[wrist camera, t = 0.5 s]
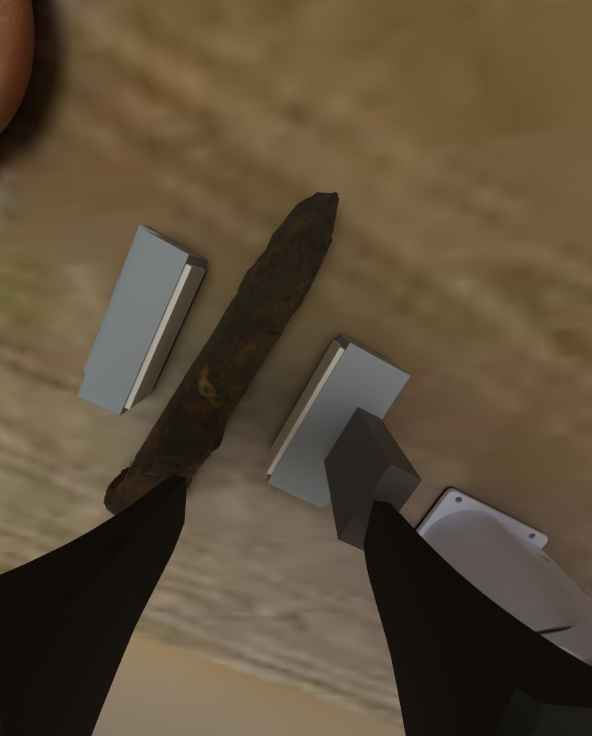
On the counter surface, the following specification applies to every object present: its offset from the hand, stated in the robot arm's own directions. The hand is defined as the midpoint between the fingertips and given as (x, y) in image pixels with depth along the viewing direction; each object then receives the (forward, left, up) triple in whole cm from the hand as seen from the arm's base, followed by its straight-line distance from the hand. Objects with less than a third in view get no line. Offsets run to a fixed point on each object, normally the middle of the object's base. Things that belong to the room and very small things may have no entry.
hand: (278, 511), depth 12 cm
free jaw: (-3, -2, -10) cm, 11 cm away
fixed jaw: (+10, -2, -10) cm, 14 cm away
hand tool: (+5, -2, -11) cm, 12 cm away
